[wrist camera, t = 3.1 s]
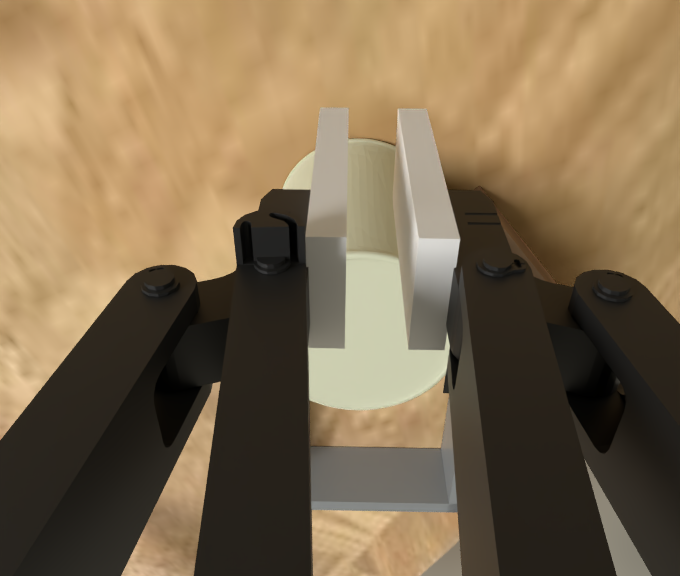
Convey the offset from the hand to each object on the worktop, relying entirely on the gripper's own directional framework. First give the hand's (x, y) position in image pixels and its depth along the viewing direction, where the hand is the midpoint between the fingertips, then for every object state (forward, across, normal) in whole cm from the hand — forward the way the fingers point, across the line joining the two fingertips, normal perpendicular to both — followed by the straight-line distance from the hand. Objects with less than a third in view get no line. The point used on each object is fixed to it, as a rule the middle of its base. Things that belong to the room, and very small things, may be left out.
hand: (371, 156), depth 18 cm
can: (+17, 0, -11) cm, 20 cm away
